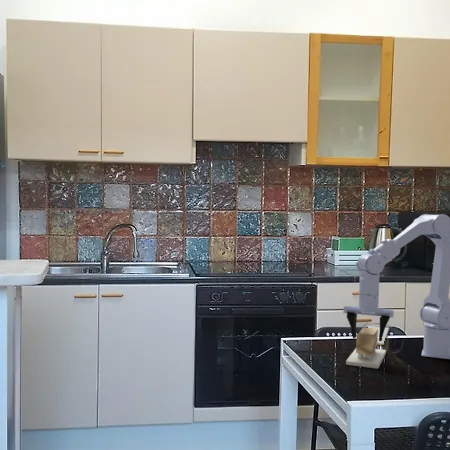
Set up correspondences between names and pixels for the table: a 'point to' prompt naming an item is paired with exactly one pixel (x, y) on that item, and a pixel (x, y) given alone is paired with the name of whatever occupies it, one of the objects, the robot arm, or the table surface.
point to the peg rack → (366, 359)
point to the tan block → (366, 340)
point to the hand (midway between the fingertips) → (367, 339)
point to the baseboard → (379, 332)
